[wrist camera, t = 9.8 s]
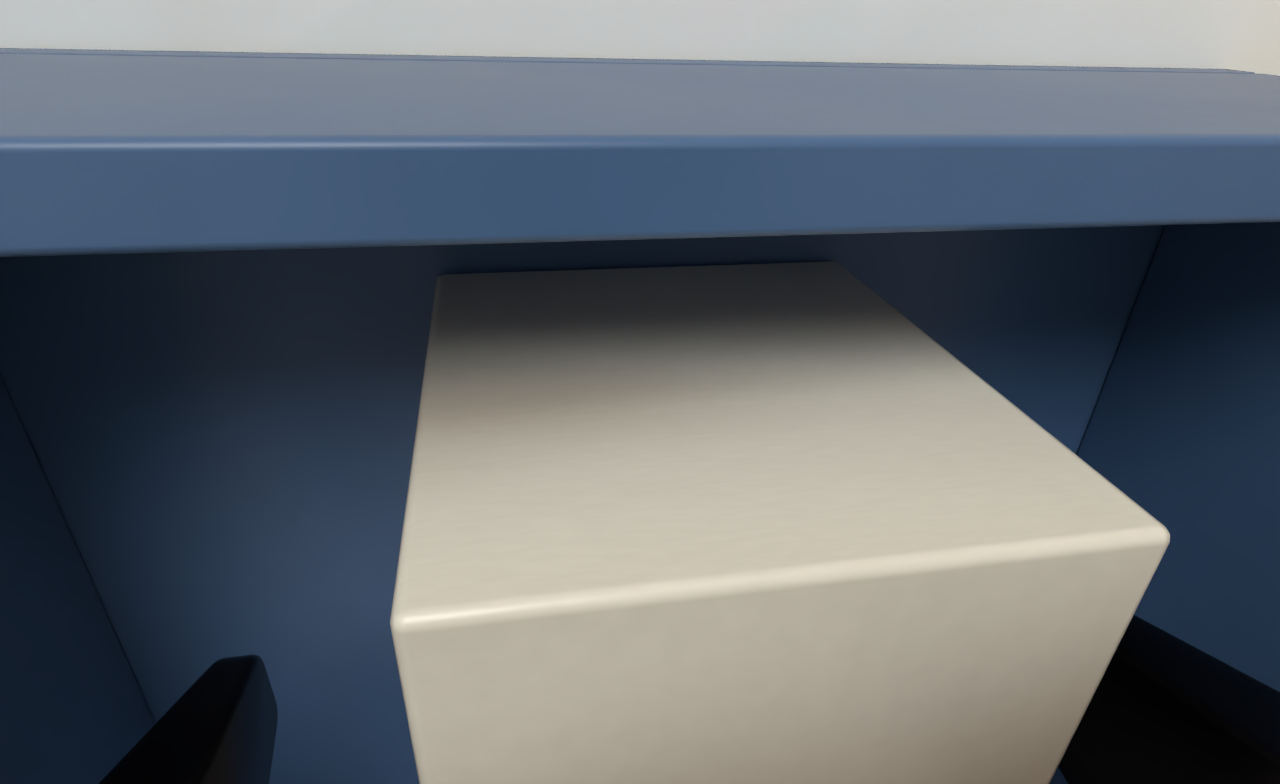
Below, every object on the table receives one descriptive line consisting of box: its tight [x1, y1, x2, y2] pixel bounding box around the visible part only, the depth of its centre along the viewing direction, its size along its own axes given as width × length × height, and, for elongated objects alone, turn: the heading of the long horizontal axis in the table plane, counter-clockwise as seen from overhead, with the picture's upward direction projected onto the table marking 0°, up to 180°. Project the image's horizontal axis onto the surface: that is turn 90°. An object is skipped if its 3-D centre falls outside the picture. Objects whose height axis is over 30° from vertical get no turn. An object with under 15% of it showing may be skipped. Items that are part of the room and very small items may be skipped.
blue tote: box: [0, 48, 1280, 784], centre depth 9 cm, size 12×15×4 cm
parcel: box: [390, 261, 1170, 784], centre depth 8 cm, size 8×5×5 cm, turn 178°
